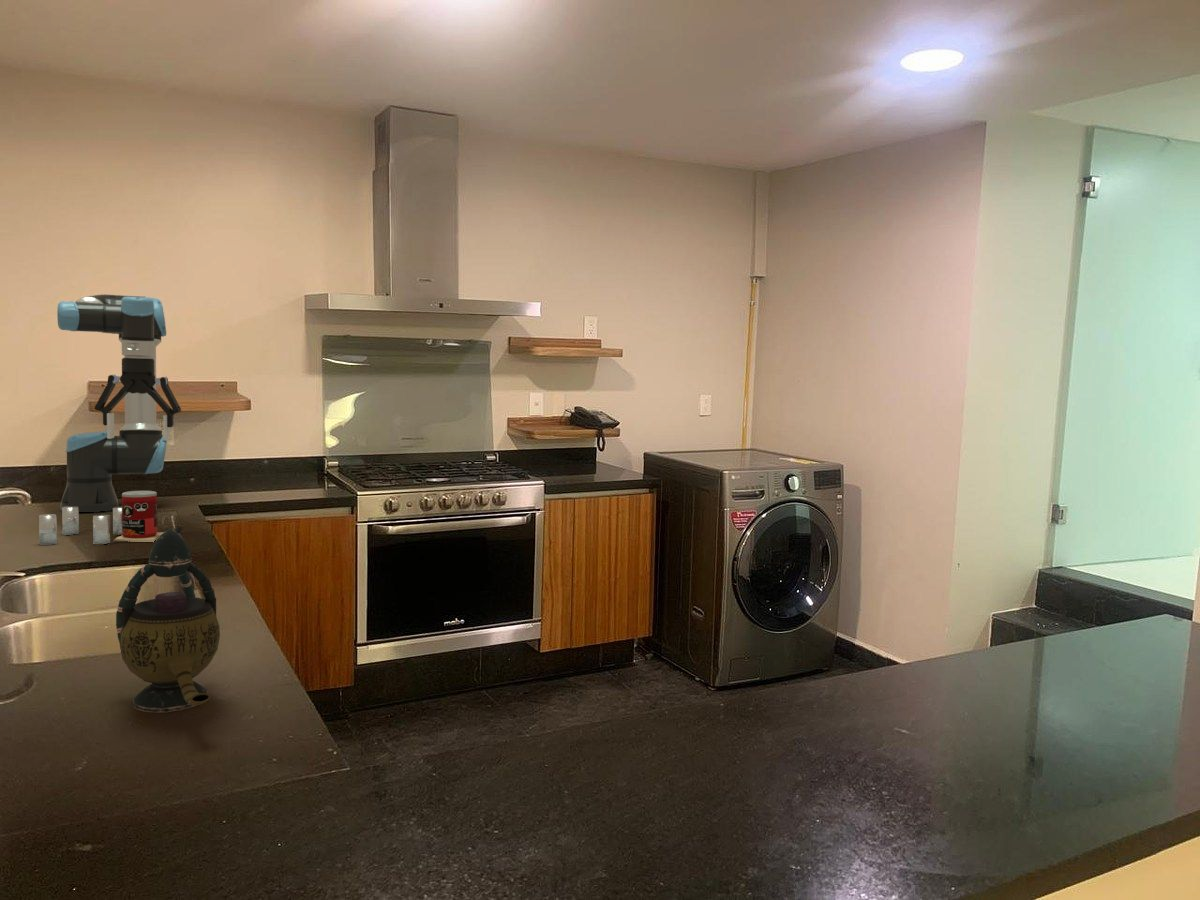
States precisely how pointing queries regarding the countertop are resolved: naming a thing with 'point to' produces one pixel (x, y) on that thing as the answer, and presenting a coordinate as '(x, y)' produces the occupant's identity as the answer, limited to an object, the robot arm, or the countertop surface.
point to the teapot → (168, 630)
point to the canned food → (139, 514)
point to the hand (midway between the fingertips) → (138, 439)
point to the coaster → (148, 539)
